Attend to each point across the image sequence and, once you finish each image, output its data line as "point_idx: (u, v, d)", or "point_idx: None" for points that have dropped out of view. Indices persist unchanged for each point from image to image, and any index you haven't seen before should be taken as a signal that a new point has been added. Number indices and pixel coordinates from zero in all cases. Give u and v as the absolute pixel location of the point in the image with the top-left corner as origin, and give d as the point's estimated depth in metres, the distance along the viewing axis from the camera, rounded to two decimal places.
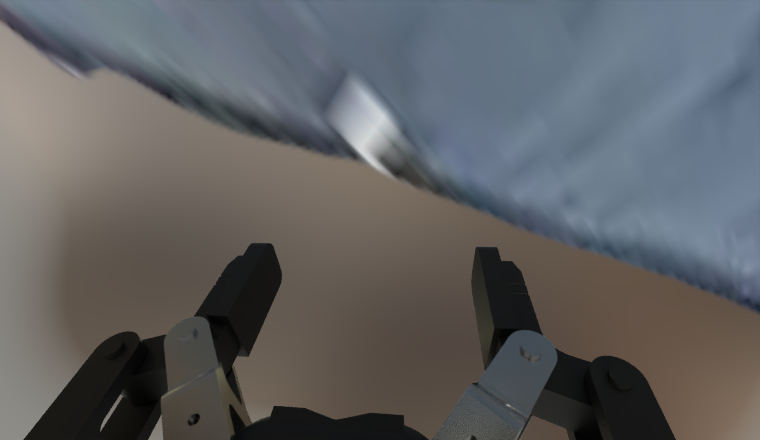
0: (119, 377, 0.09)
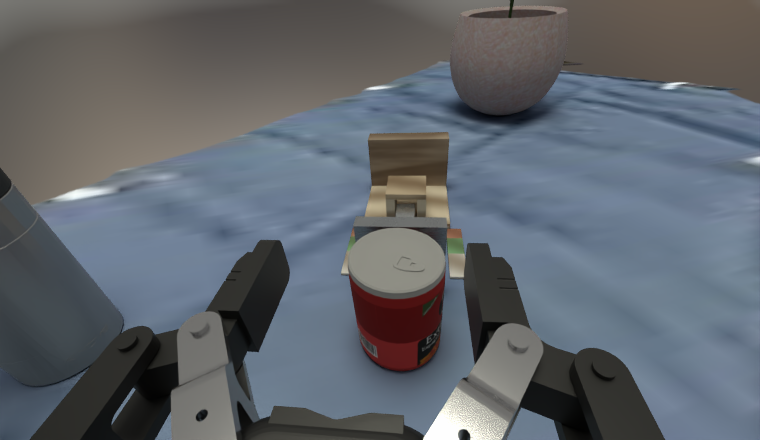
0: (132, 372, 0.09)
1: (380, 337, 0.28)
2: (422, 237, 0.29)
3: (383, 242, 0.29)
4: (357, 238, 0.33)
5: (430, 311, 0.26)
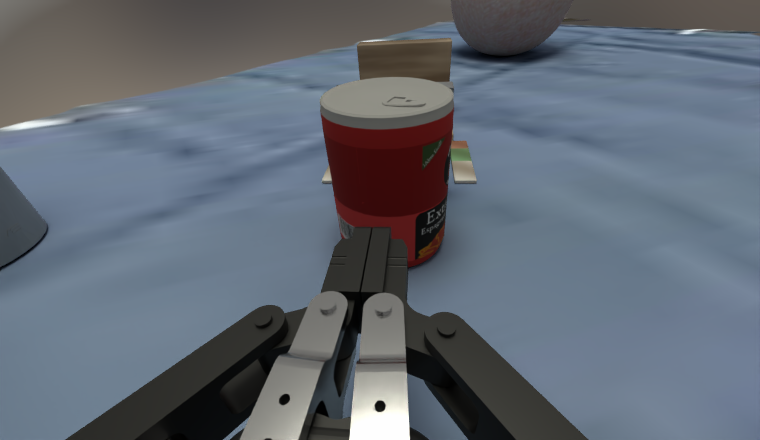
0: (252, 352, 0.09)
1: (365, 209, 0.20)
2: (421, 82, 0.21)
3: (369, 90, 0.22)
4: None
5: (432, 163, 0.19)
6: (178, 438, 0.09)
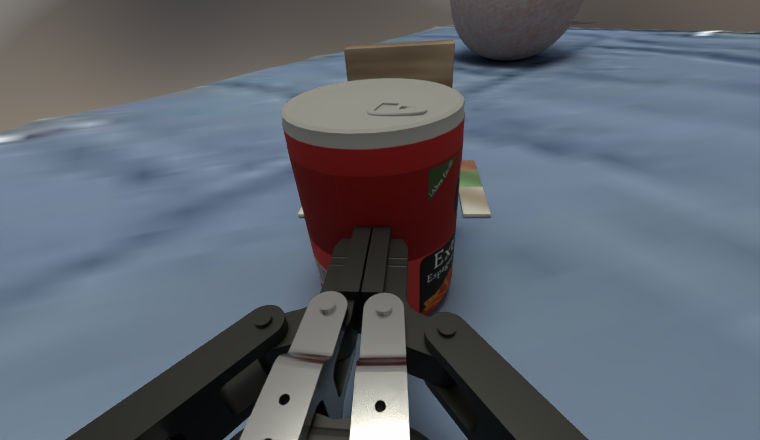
0: (252, 352, 0.09)
1: None
2: (416, 83, 0.16)
3: (348, 96, 0.16)
4: None
5: (441, 190, 0.14)
6: (178, 438, 0.09)
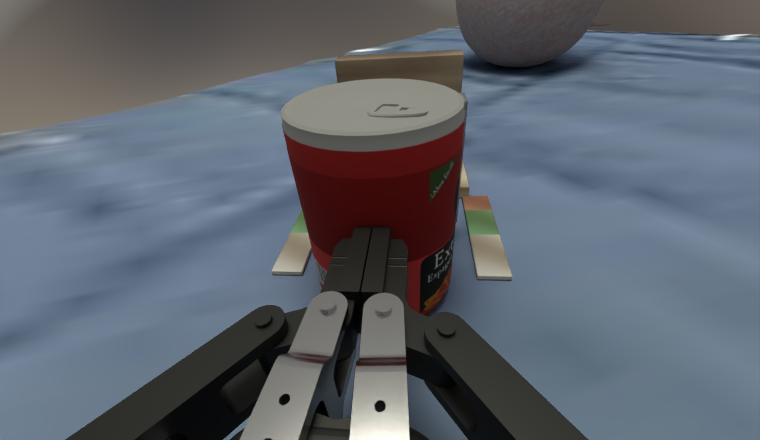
0: (252, 352, 0.09)
1: None
2: (415, 84, 0.16)
3: (347, 96, 0.16)
4: None
5: (442, 191, 0.14)
6: (178, 438, 0.09)
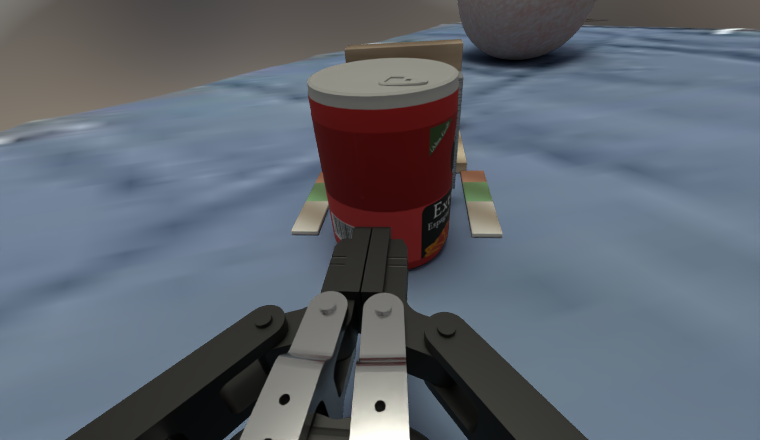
0: (252, 352, 0.09)
1: (365, 205, 0.18)
2: (418, 61, 0.19)
3: (361, 72, 0.19)
4: None
5: (439, 148, 0.17)
6: (178, 438, 0.09)
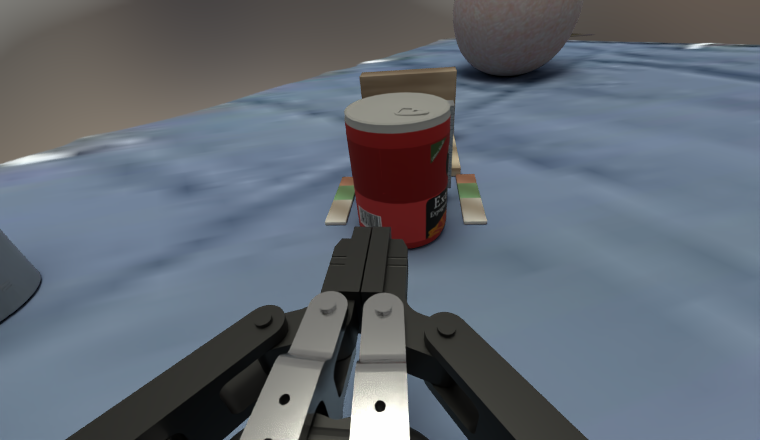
0: (252, 352, 0.09)
1: (385, 198, 0.25)
2: (421, 95, 0.27)
3: (380, 104, 0.27)
4: None
5: (437, 158, 0.24)
6: (178, 438, 0.09)
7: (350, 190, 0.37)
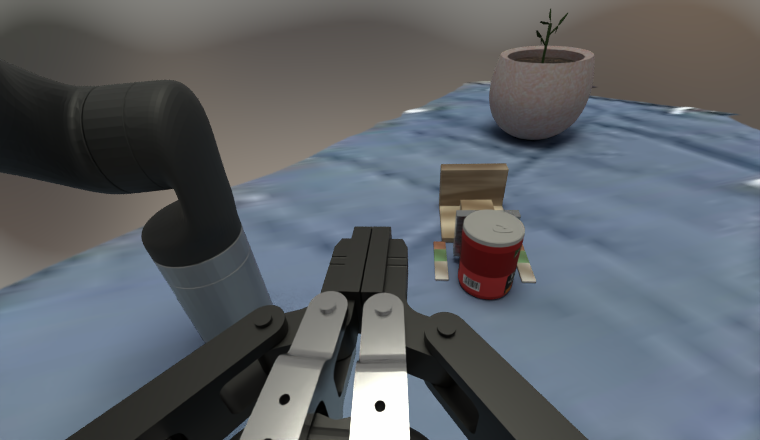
0: (252, 352, 0.09)
1: (486, 275, 0.46)
2: (503, 214, 0.47)
3: (480, 218, 0.47)
4: (458, 224, 0.50)
5: (517, 255, 0.44)
6: (178, 438, 0.09)
7: (443, 253, 0.57)
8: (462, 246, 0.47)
